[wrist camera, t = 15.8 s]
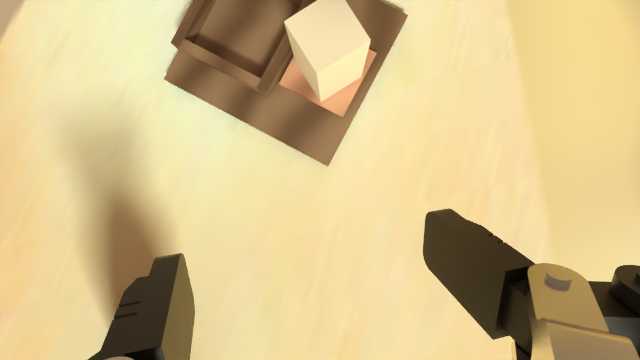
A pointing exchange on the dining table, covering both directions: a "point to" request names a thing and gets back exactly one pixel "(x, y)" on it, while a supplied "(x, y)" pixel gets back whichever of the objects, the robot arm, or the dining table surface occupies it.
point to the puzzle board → (273, 69)
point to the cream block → (328, 45)
